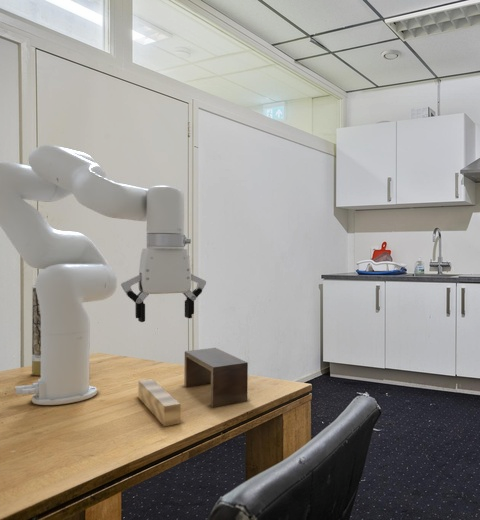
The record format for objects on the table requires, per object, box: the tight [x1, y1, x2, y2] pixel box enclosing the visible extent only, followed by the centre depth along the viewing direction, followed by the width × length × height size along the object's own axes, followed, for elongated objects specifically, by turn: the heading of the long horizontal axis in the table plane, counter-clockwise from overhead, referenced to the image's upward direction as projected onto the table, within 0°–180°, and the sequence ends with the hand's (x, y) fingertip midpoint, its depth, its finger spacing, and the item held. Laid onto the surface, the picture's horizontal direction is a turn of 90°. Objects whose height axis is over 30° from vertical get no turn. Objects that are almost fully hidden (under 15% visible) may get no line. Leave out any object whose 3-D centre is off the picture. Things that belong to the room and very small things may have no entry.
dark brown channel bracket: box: [183, 347, 249, 408], centre depth 115 cm, size 8×22×9 cm, turn 39°
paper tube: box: [31, 284, 41, 377], centre depth 132 cm, size 7×7×25 cm
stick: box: [137, 378, 181, 427], centre depth 102 cm, size 24×3×4 cm, turn 39°
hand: (165, 319), depth 103 cm, fingers open, 9 cm apart
